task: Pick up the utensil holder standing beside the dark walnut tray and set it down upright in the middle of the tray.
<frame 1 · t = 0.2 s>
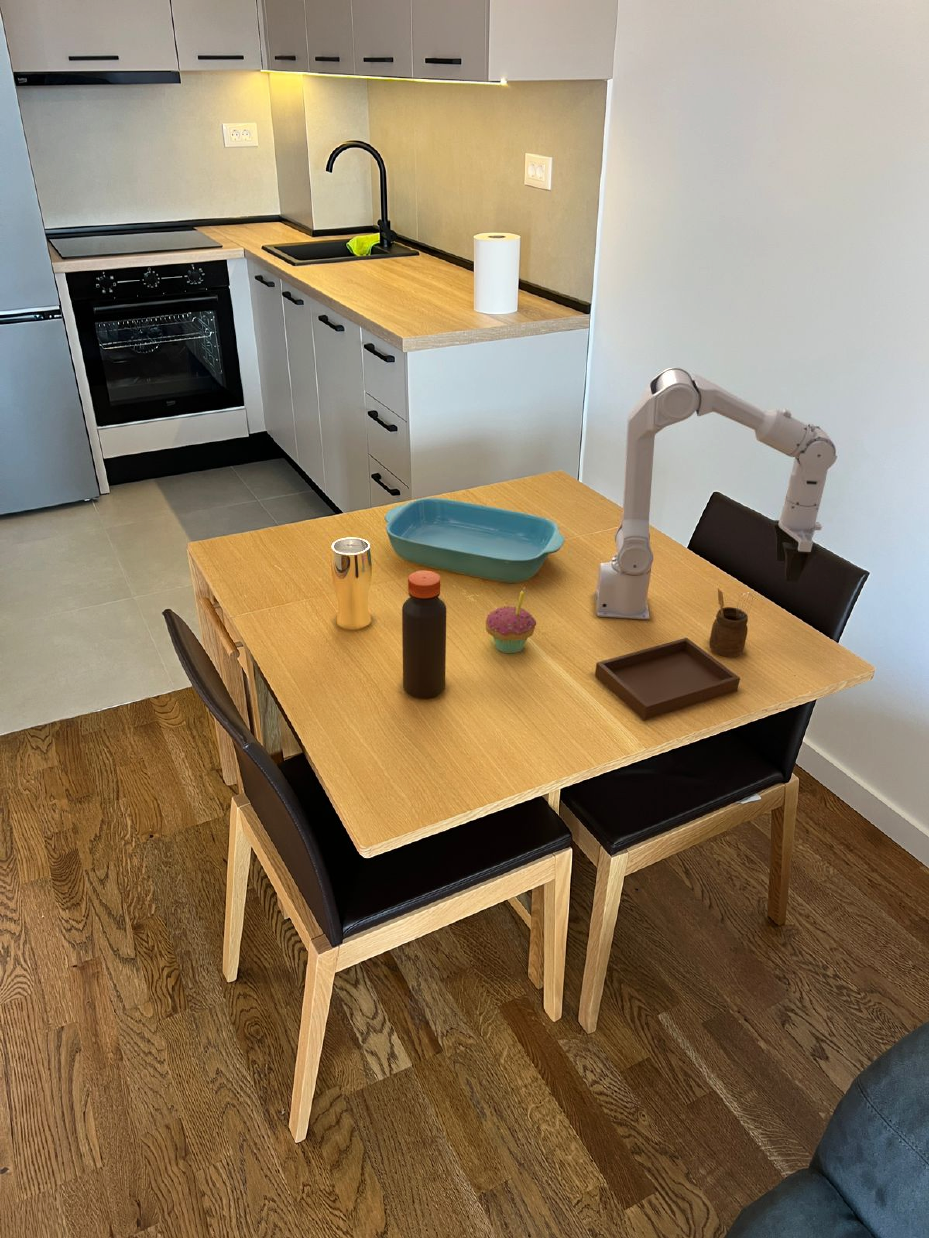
hand: (786, 570, 167), 10 cm above the table, tool pointing down, fingers open, 7 cm apart
casserole dish: (472, 558, 191), on the table
utensil holder: (724, 649, 163), on the table
bottle: (424, 688, 151), on the table
cupcake: (508, 647, 162), on the table
beer glass: (353, 622, 168), on the table
tray: (665, 683, 153), on the table
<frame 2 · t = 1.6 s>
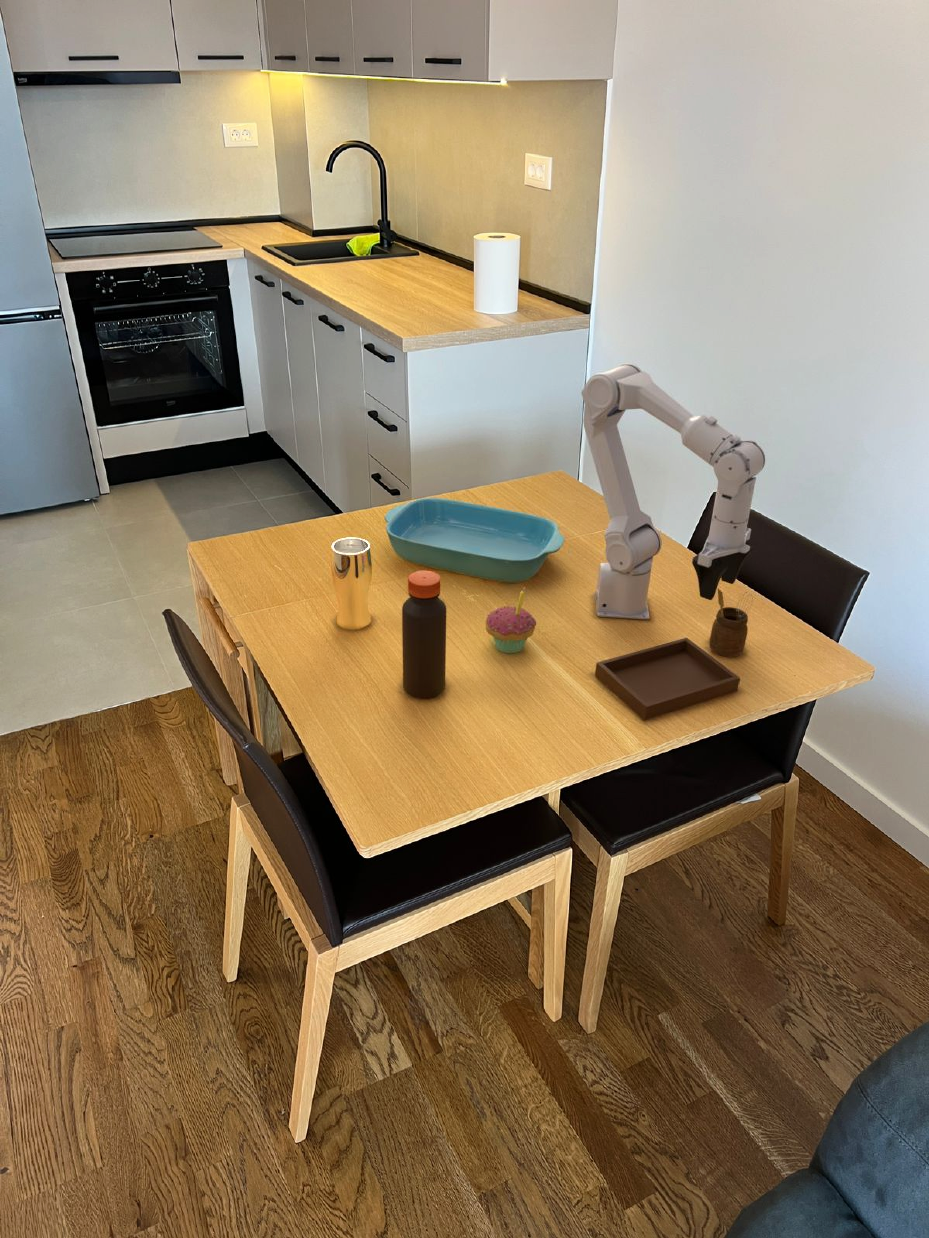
hand: (717, 589, 160), 10 cm above the table, tool pointing down, fingers open, 7 cm apart
nothing on the table moved.
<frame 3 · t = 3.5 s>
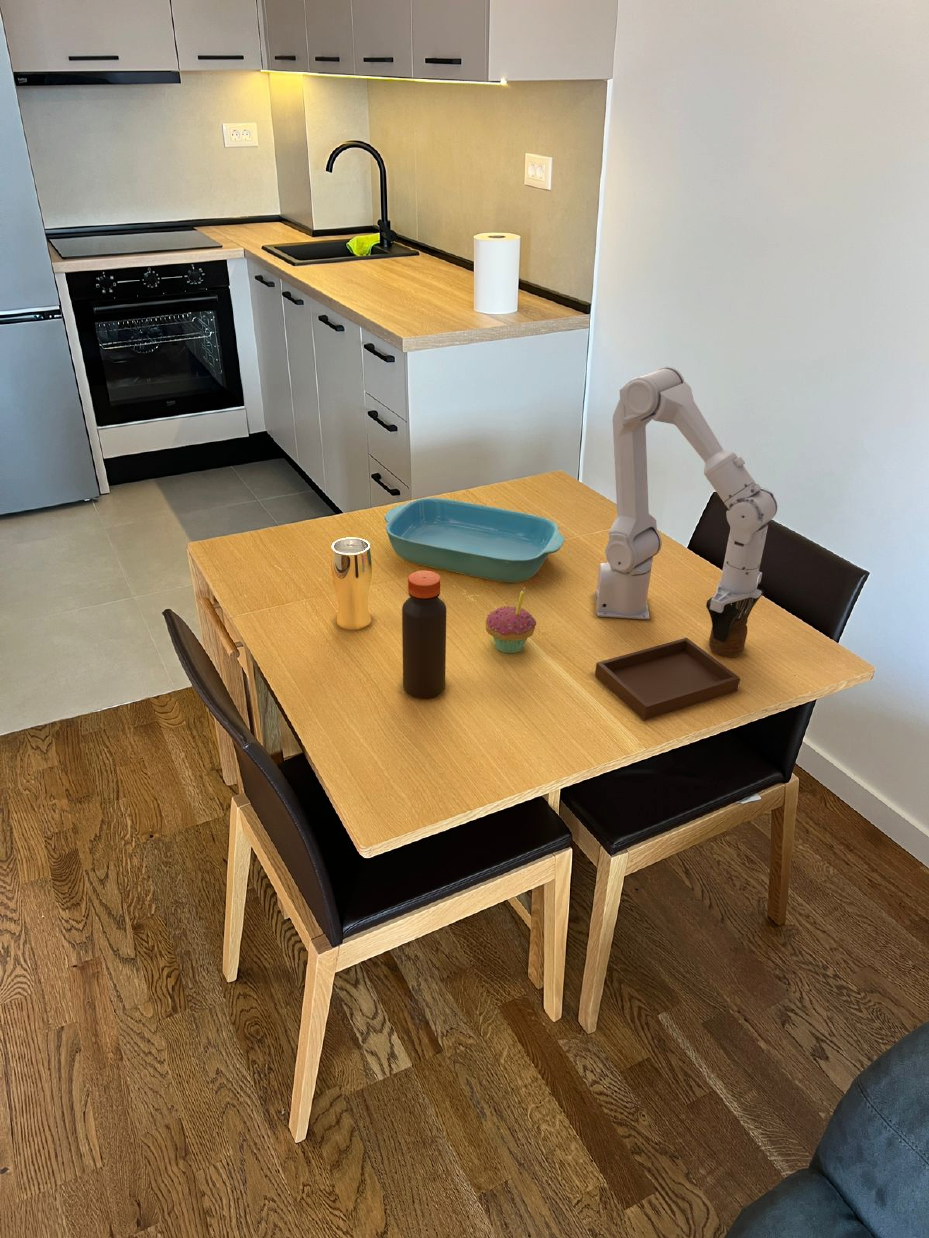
hand: (728, 632, 161), 3 cm above the table, tool pointing down, fingers closed on utensil holder, 6 cm apart
utensil holder: (724, 650, 163), on the table, touching gripper
everything else where it was.
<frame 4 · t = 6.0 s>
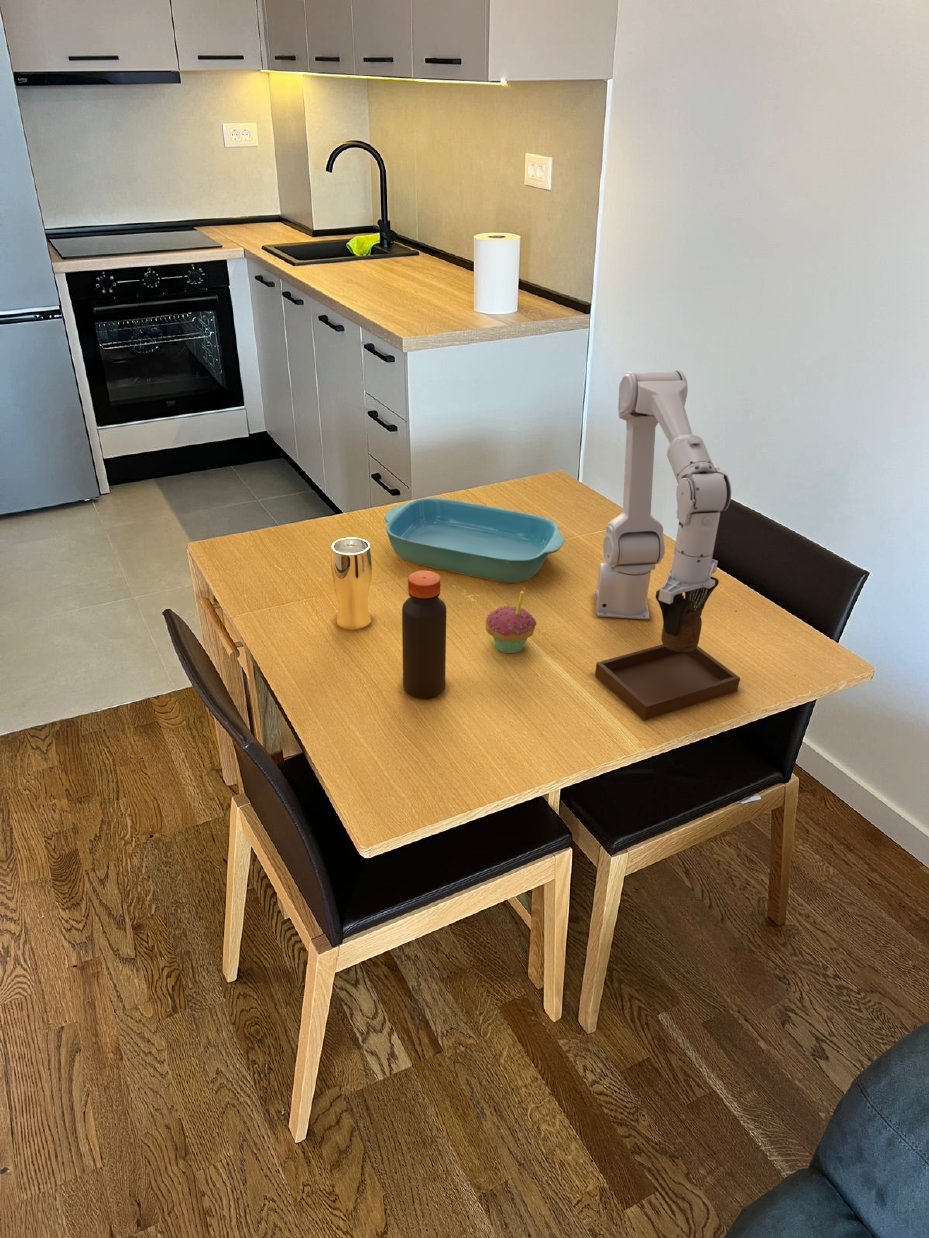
hand: (681, 625, 149), 10 cm above the table, tool pointing down, fingers closed on utensil holder, 6 cm apart
utensil holder: (678, 645, 151), point 7 cm above the table, touching gripper
everything else where it was.
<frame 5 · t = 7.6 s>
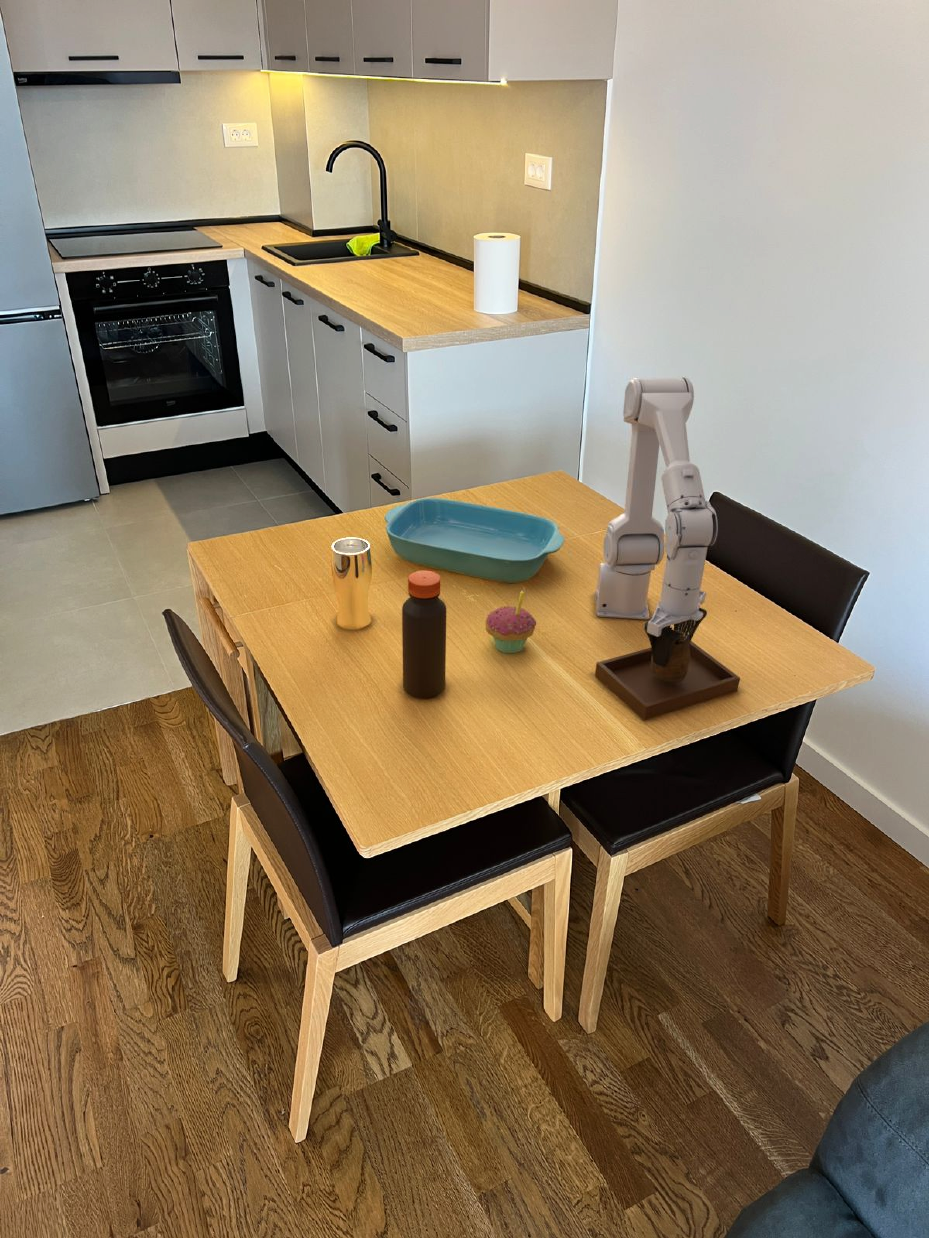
hand: (669, 656, 151), 5 cm above the table, tool pointing down, fingers closed on utensil holder, 6 cm apart
utensil holder: (667, 674, 152), point 2 cm above the table, touching gripper
everything else where it was.
when the fingers open (4 cm above the table, at t = 8.6 s): utensil holder stays where it is, resting on tray.
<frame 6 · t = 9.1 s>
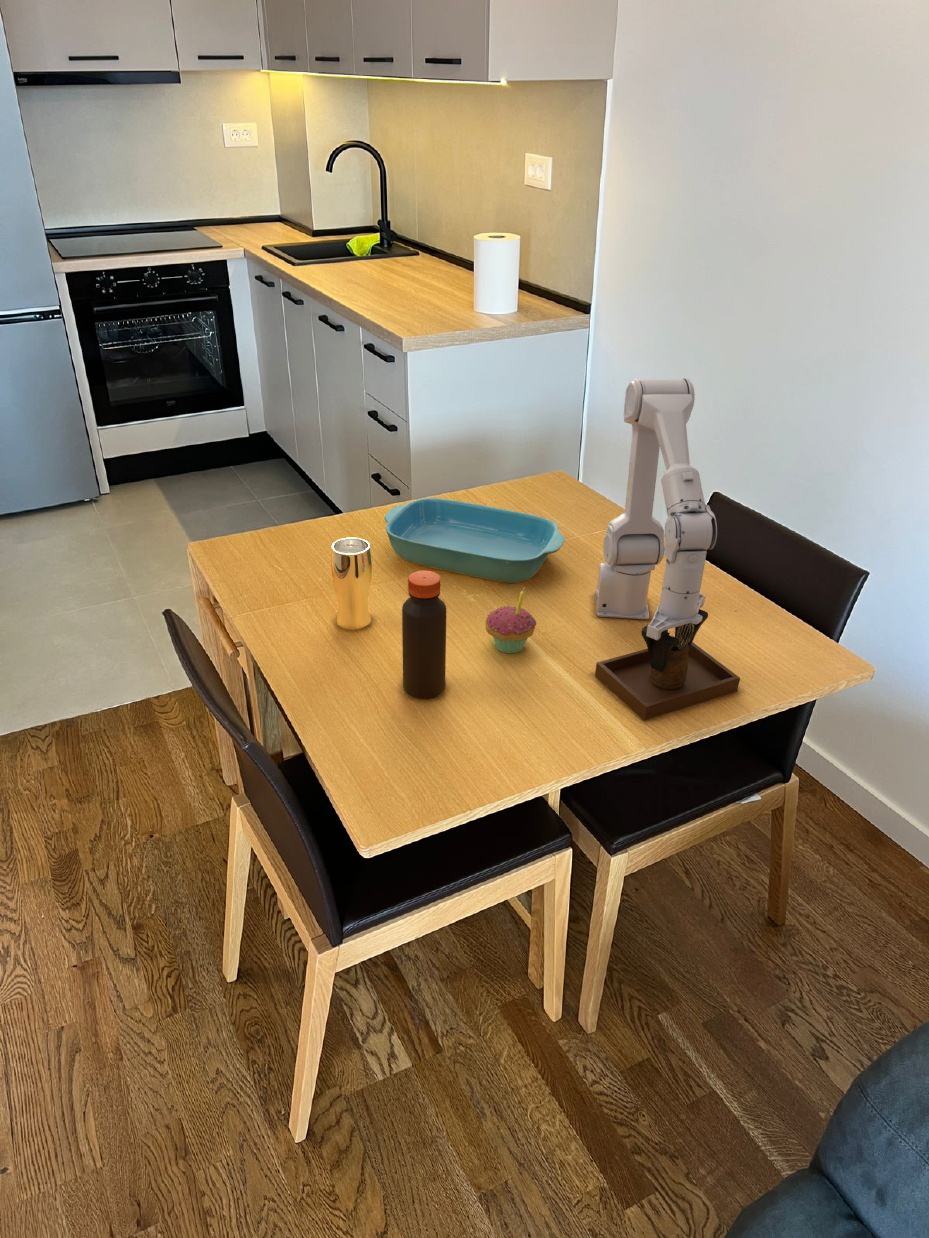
hand: (669, 659, 151), 5 cm above the table, tool pointing down, fingers open, 7 cm apart
utensil holder: (665, 681, 153), resting on tray
everything else where it was.
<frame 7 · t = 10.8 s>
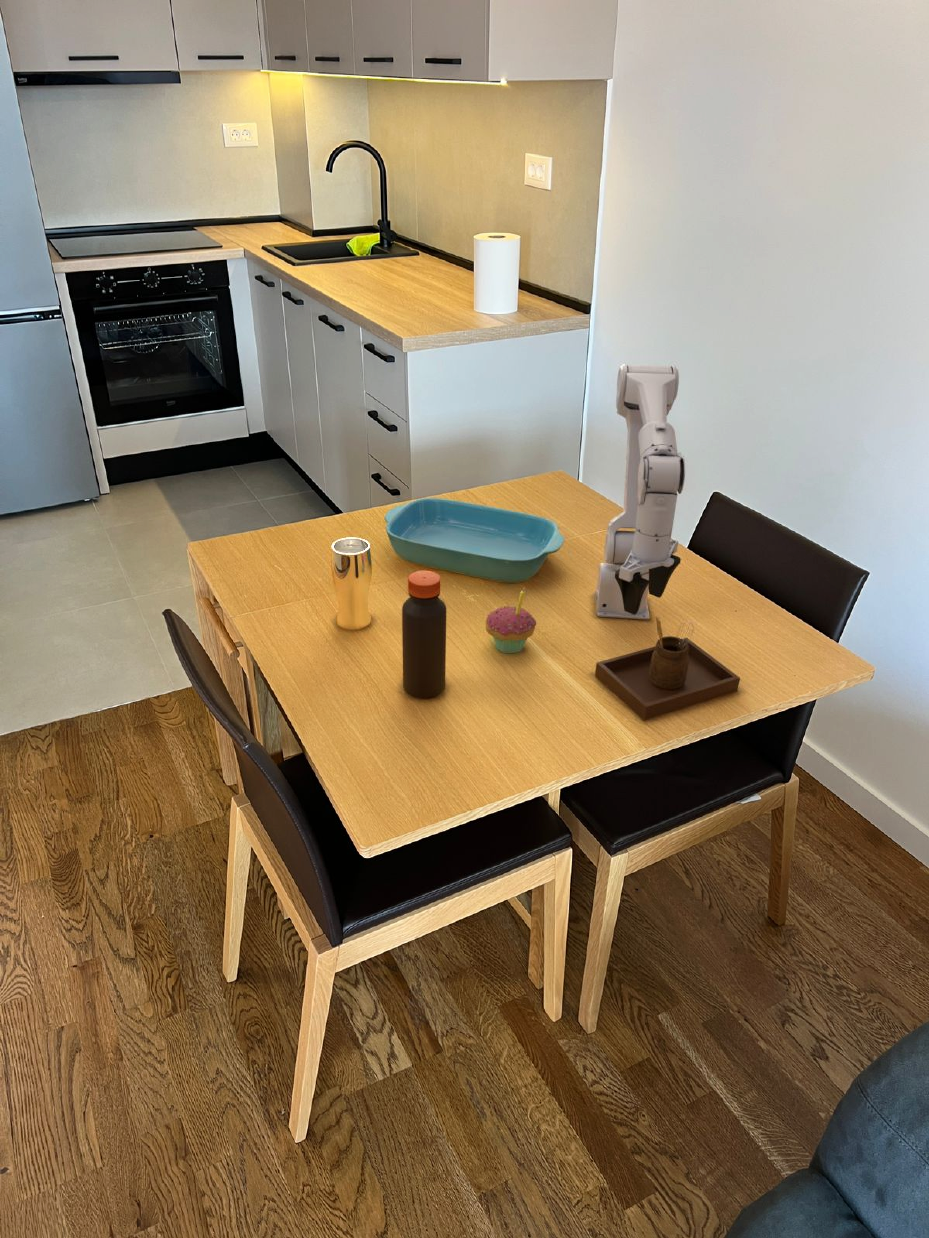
hand: (643, 603, 155), 10 cm above the table, tool pointing down, fingers open, 7 cm apart
nothing on the table moved.
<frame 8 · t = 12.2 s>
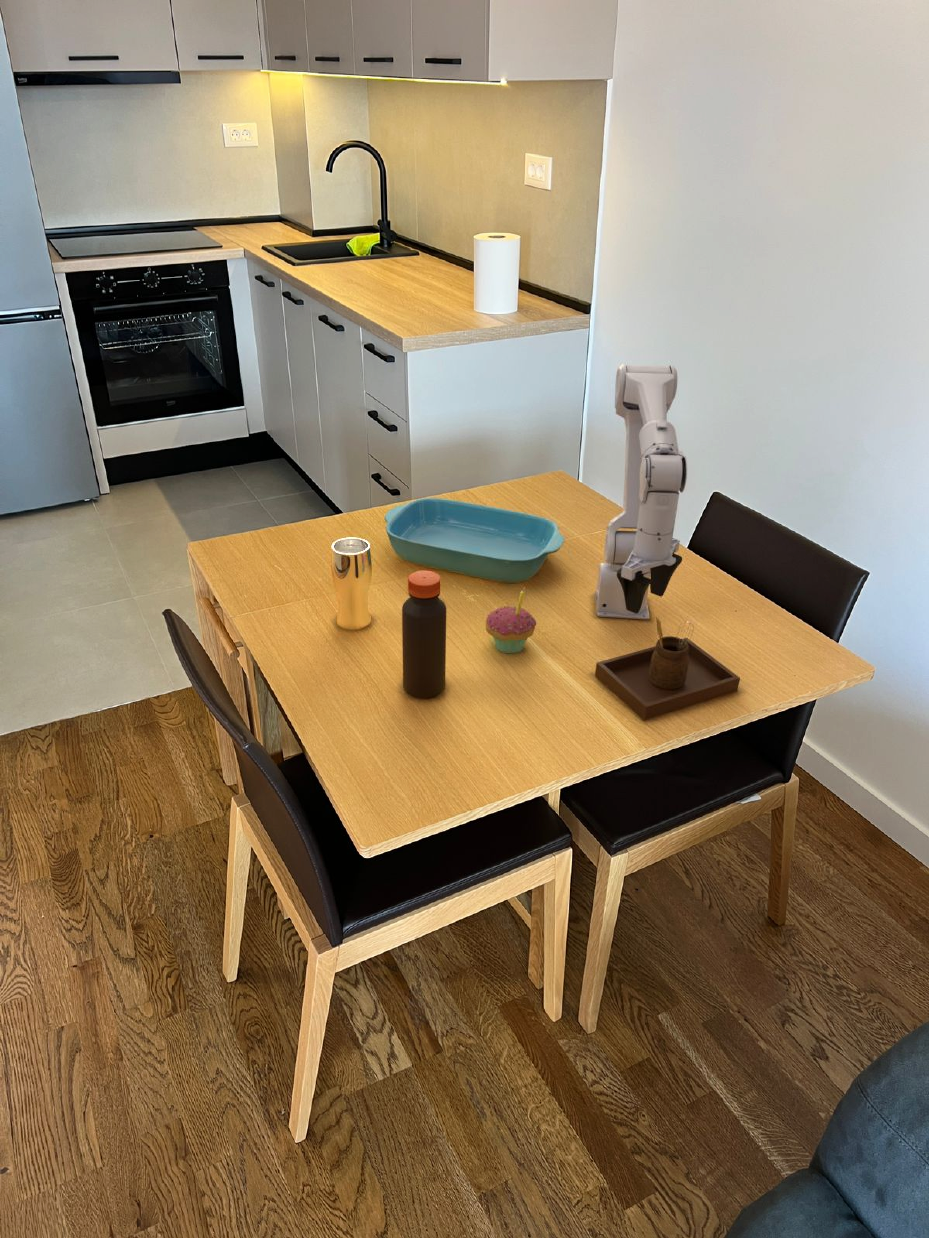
hand: (644, 602, 155), 10 cm above the table, tool pointing down, fingers open, 7 cm apart
nothing on the table moved.
at the end: utensil holder inside the target area in the tray (0.1 cm from its centre), point 0.4 cm above the tray's base; utensil holder tilted 0° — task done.
